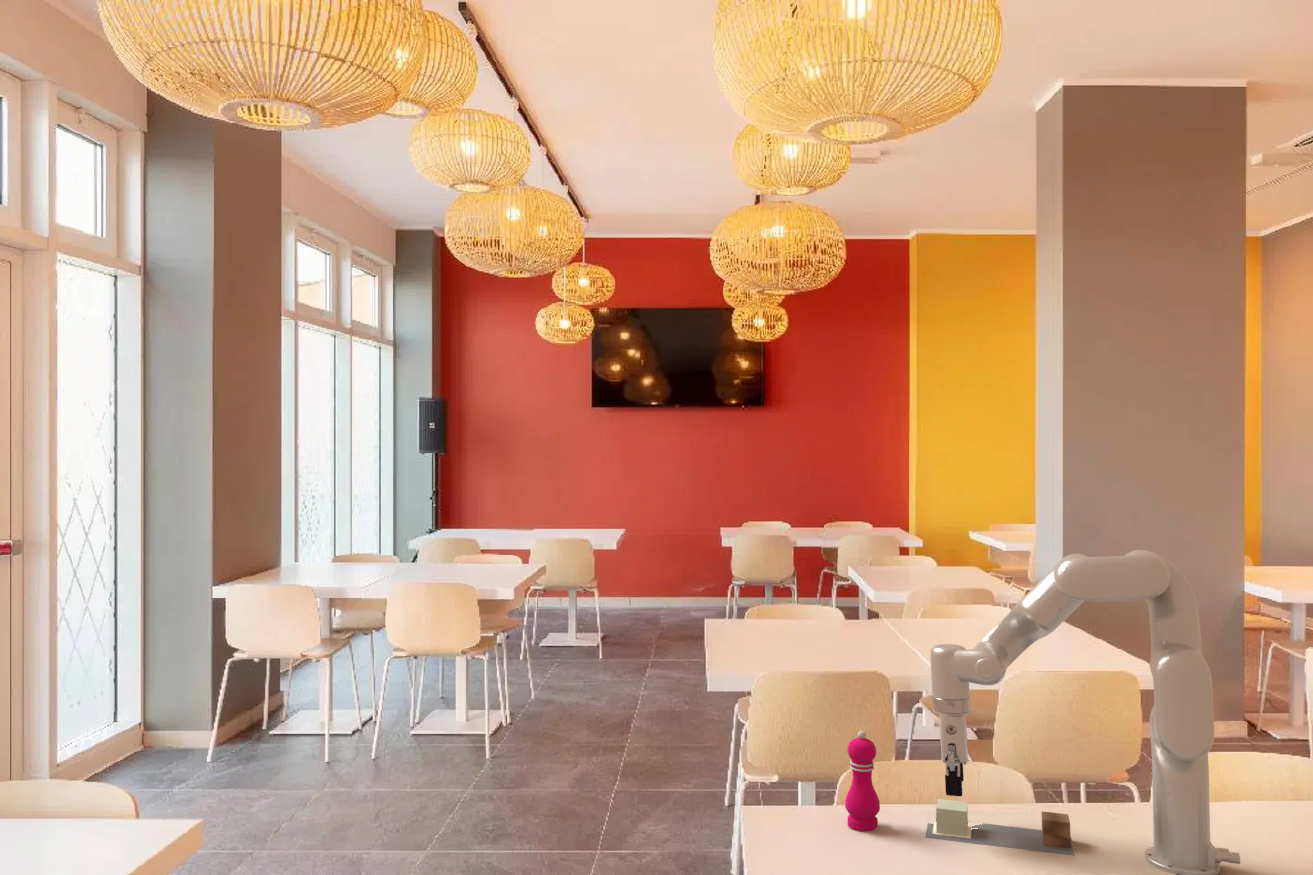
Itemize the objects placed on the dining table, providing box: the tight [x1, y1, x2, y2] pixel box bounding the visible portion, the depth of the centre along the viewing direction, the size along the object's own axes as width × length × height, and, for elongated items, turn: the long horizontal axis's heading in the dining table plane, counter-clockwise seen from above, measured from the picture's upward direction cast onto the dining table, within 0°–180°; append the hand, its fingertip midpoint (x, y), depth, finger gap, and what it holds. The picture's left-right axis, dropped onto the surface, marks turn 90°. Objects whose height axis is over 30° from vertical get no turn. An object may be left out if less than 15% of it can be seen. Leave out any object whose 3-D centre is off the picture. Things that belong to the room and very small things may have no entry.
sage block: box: [935, 798, 969, 836], centre depth 197 cm, size 6×6×5 cm
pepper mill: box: [844, 730, 881, 833], centre depth 200 cm, size 7×7×20 cm
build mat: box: [925, 822, 1076, 857], centre depth 194 cm, size 28×12×1 cm, turn 71°
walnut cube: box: [1041, 810, 1071, 848], centre depth 190 cm, size 5×5×5 cm
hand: (955, 787), depth 197 cm, fingers open, 9 cm apart
